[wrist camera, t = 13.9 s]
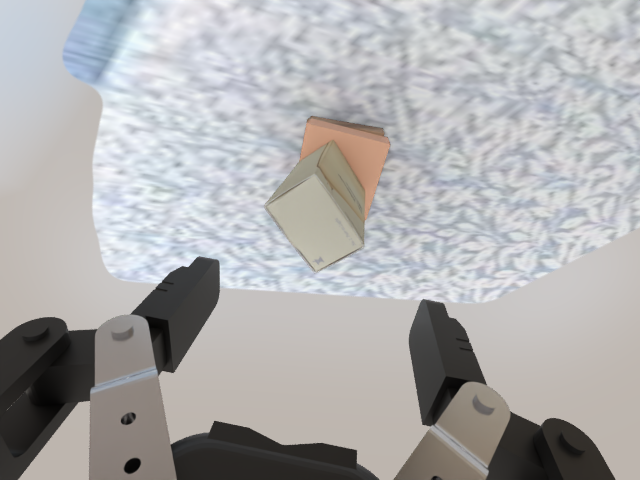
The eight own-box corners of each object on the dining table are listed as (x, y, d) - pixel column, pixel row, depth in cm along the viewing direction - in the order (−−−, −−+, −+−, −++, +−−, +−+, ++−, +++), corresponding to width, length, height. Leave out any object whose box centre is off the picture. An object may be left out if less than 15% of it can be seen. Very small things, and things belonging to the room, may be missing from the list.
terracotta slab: (387, 137, 33) (390, 144, 30) (365, 207, 37) (365, 220, 34) (311, 118, 33) (306, 123, 30) (297, 190, 37) (291, 201, 34)
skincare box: (366, 191, 32) (370, 249, 22) (329, 212, 34) (315, 277, 23) (332, 136, 30) (317, 170, 20) (294, 161, 32) (261, 207, 21)
